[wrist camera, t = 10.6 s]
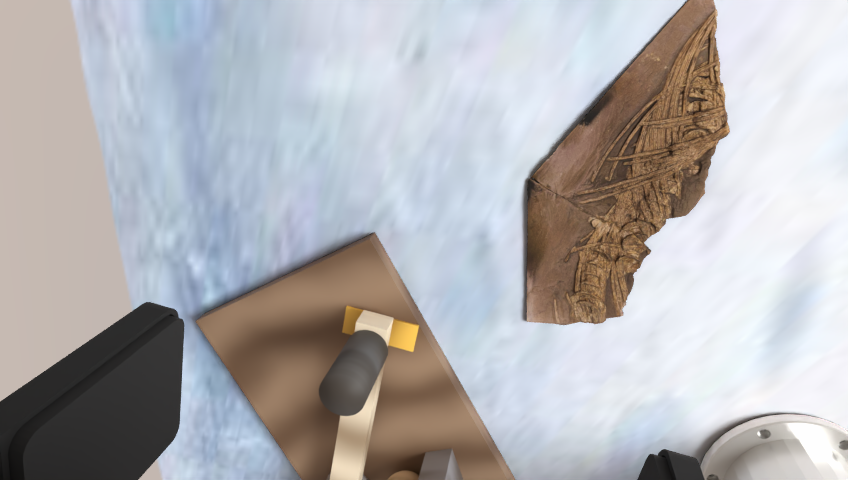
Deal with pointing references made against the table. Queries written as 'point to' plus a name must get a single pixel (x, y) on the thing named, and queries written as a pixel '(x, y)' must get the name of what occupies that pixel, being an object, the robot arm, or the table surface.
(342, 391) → the lever
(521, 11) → the table surface
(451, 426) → the press board
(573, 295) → the wooden fragment
